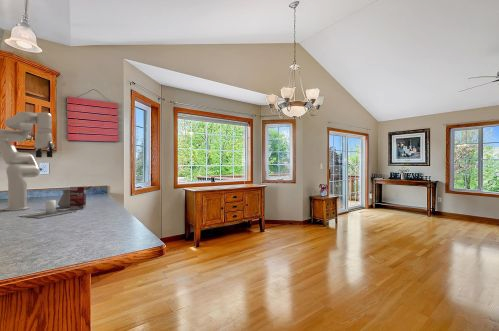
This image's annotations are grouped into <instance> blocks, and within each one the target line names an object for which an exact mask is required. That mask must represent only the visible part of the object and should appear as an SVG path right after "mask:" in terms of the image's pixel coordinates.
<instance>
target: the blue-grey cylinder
mask: <svg viewBox="0 0 499 331" xmlns="http://www.w3.org/2000/svg"><path fill="white" fill-rule="evenodd" d="M56 210H57V200H56V199H53V200H50V199H49V200H45V211H46V214H54V213H56Z"/></svg>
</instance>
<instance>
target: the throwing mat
mask: <svg viewBox="0 0 499 331" xmlns="http://www.w3.org/2000/svg"><path fill="white" fill-rule="evenodd" d="M72 212H73V213H77V211H76V210H67V209H66V210H64V209H56V213H54V214H46V210H44V211H39V212H33V213H27V214H19V215H17V216H18V218H19V217H20V218H30V219H45V217H46V218H51V217H56V216H60V215H61V216H62V215H67V214H73V213H72Z"/></svg>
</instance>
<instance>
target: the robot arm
mask: <svg viewBox="0 0 499 331" xmlns="http://www.w3.org/2000/svg"><path fill="white" fill-rule="evenodd" d="M52 123H53V116H52V114H51V113H48V112H44V111H43V112H42V111H41V112H33V111H32V112H31V111H18V112H17V113H16V114H15V115H14V116H11V117H8V118H6V119H5V120H4V124H5V126H6V127H7V129H6V128H0V155H1V156H2V159H3V161H4V163H5V164H6V165H8V166H7V167H6V169H5V170H6V175H7V176H6V177H7V188H8V190H7V204H5V205H6V207H5V208H4V211H7V212H9V211H12V212H13V211H23V210H24V211H25V210H28V209H30V207H31V206H28V201H27V200H28V199H27V198H28V194H27V192H28V184H27V181H26V180H25V179H24V178H36V177H37V176H39V175H40V168H39V166H38V163H37V160H36V159H35V157H36V158H42V156H43V152H42V151H43V150H44V149H45V150H46V158H53V152H54V149H55V146H56V144H54V143H53V142H54V141H53V140H54V139H53V129H52V128H53V125H52ZM34 125H36V134H35V138H34V139H35V140H34V144H33V147H34V151H35V157H34V156H33V154H31V153H30V152H20V151H18V150H17V147H16V146H15V145H14V144H12V143H11V142H15V143H23V142H25V141H26V140H27V138H28V137H29V135H30V133H31V132H32V130H33V128H34V127H33V126H34ZM8 128H9V129H8Z"/></svg>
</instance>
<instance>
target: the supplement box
mask: <svg viewBox="0 0 499 331" xmlns="http://www.w3.org/2000/svg"><path fill="white" fill-rule="evenodd" d="M86 188H87V186H70V187H69V190H70V208H69V211H72V210H85V209H86V208H87V189H86Z"/></svg>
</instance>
